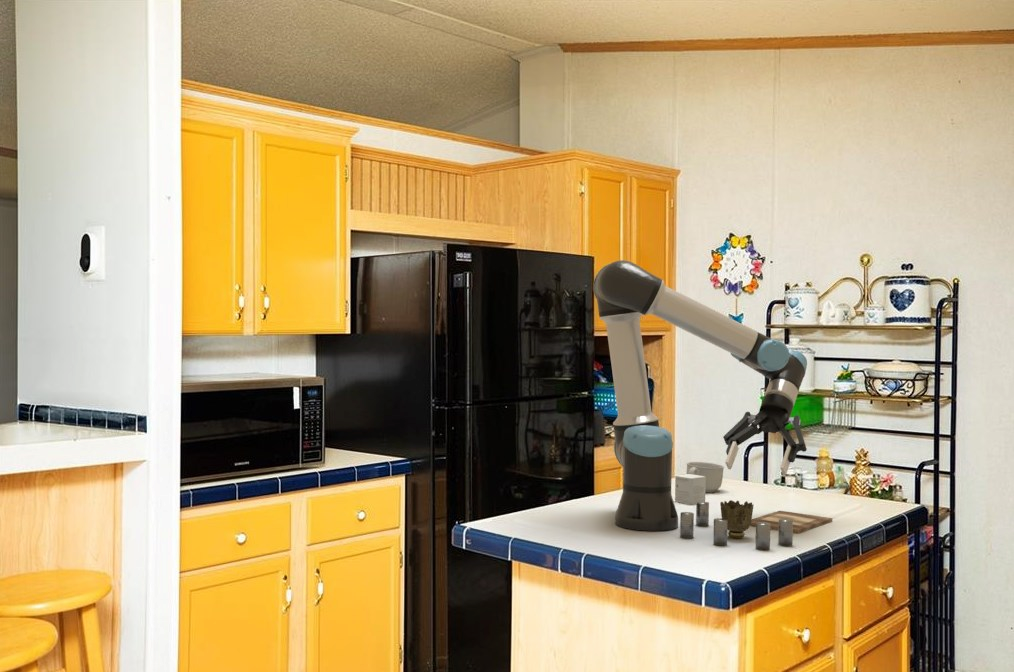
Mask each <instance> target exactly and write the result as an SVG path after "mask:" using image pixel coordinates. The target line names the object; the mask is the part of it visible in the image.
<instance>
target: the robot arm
mask: <svg viewBox="0 0 1014 672" xmlns="http://www.w3.org/2000/svg"><path fill="white" fill-rule="evenodd" d="M592 284H593V294H594V297H595V299H596V303H597V311H598V318H599V319H600V320H601V322H602V321H603V322H604V324H605V325H606V334H607V341H608V349H609V350H608V351H609V357H610V363H611V370H612V371H611V372H612V379H613V388H614V394H615V403H616V409H617V417H616V419H615V420H614V421H613V422H612V425H613V426H612V427H613V434H614V446H613V449H614V450H613V451H614V455H615V457H616V460H617V462H618V463H619V464H620V465H621V466H622V468H623V469H622V493H621V498H620V500H619V502H618V505H617V508H616V512H615V515H614V516H615V517H614V523H615V525H616V526H618V527H620V528H624V529H628V530H633V531H634V530H635V531H645V532H653V531H654V532H655V531H656V532H658V531H659V532H661V531H662V532H663V531H669V530H674V529H676V528H678V527H679V515H678V511H677V509H676V506H675V502H674V501H675V500H674V498H673V495H672V480H673V479H672V474H673V473H672V472H673V466H672V464H673V446H674V443H673V442H674V441H673V435H672V433H671V432H670V431H669V430H668V429H667V428H664V427H660V423H659V422H660V421H659V417H658V416H656V414H655V413H653V412H652V407H651V399H650V392H649V389H650V388H649V384H648V376H647V374H648V373H647V367H646V360H645V351H644V344H643V338H642V337H643V336H642V329H641V321H640V319H641V317H642V316H643V315H644V316H647V315H653V316H655V317H657V318H659V319H661V320H663V321H665V322H667V323H669V324H671V325H674V326H675V327H677V328H680V330H681V329H682V330H683V331H685V332H687V333H689V334H692V335H694V336H696V337H697V338H700V339H701V340H704V341H705V342H708V343H710V344H712V345H714V346H715V347H718V348H719V349H722V350H724V351H726V352H728V353H730V355H731V356H732V357H733V358H734V359H736V360H737V361H738V362H739V363H742V364H743V365H745V366H747V367H749V368H750V369H752V370H754V371H755V372H757V373H759V374H761V375H762V376H763V377H766V378H767V379H768V380H769V382H768V385H767V388H766V390H765V393H764V396H763V399H762V401H761V404H760V407H759V410H758V413H757V414H751V413H750V411H745V412H744V414H743V417H742V418H741V419H740V420H738V422H737V423H736V424H735V425H734V426H732V428H730V430H729V431H728V432H726V433H725V434H724V435H723V436H722V437H723V438H722V439H724V443H725V445H726V446H727V448H726V450H725V453H726V459H725V465H726V467H727V470H732V468H733V465H734V463H735V460H736V457H737V455H738V453H739V449H740V448H739V445H741V444H744V442H746V441H748V440H749V439H752V437H754V436H755V435H760V434H761V433H762V432H763V433H765V434H766V433H767V434H768V433H771V434H776V433H780V435H781V436H782V437H783V439H784V440H785V442H786V443H787V446H786V450H785V451H784V455H783V457H782V461H781V464H780V471H781V473H782V476H783V475H784V476H787V473H788V470H789V467H790V465H791V463H794V462H795V460H796V457H797V455H798V453H799V452H803V453H804V452H806V451H807V450H808V448H807V446H806V442H805V439H804V435H803V432H802V430H801V427H802V420H801V418H800V415H799V414H795V415H794V416H793V417H791V416H792V413H793V411H794V410H793V409H794V406H795V403H796V400H797V397H798V394H799V391H800V388H801V386H802V383H803V380H804V377H805V375H806V371H807V368H808V367H807V366H808V359H807V357H806V355H805V354H803V353H802V352H800V351H799V350H795V349H792V348H788V346H787V345H786V344H785V343H784V342H782V341H781V340H779V339H777V338H771V337H769V336H767V335H765V334H763V333H761V332H758V331H757V330H755V329H753V328H751V327H749V326H746V325H745V324H743V323H741V322H738V321H737V320H736V319H735V320H734V319H733V318H731V317H729V316H727V315H724V314H723V313H720V312H719V311H718V310H717V311H716V310H715V309H712V308H711V307H709V306H707V305H704V304H702V303H701V302H698V301H697V300H694V299H692V298H690V297H688V296H686V295H684V294H682V293H681V292H679V291H676V290H674V289H673V288H670V287H668V286H666V284H665V281H664V279H662V278H660V277H658V276H656V275H654V274H653V273H651V272H649V271H647V270H645V268H643V267H641V266H640V265H638V264H636V263H634V262H632V261H629V260H623V259H622V260H615V261H612V262H611V263H608V264H607V265H604V266H602V268H601V269H599V271H598V272H597V273H596V275H595V277H594V281H593V283H592ZM790 424H791V426H792V427H794V431H795V433H796V437H797V440H798V443H796V441H795V440H794V439H793V437H792V435H791V434H790V432H788V430H787V428H786V427H787V426H788V425H790Z"/></svg>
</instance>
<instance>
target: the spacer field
mask: <svg viewBox="0 0 1014 672" xmlns="http://www.w3.org/2000/svg"><path fill="white" fill-rule="evenodd" d="M695 506H696V507H695V508H696V509H695V512H696V513H695V514H694V512H691V511H682V512H680V516H679V517H680V523H679V525H680V526H679V527H680V528H679V529H680V530H679V537H680V539H685V540H686V539H687V540H690V539H694V536H695V535H694V528H695V526H697V527H703V528H704V527H709V525H710V524H709V522H710V519H709V518H710V515H709V514H710V513H709V511H710V510H709V509H710V502H709V501H708V502H707V501H705V502H696V504H695ZM694 518H695V519H694ZM694 520H695V521H694ZM694 522H695V523H694ZM694 524H695V525H694ZM727 528H728V520H727V519H722V517H721V518H718V517H717V518H714V519H713V535H712V537H713V539H712V541H713V542H712V543H713V546H717V547H725V546H728V530H727ZM793 535H794V533H793V520H791V519H779V530H778V546H782V547H792V546H793V537H794V536H793ZM755 549H756V550H758V551H770V550H771V529H770V523H766V522H757V523H756V527H755Z"/></svg>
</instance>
